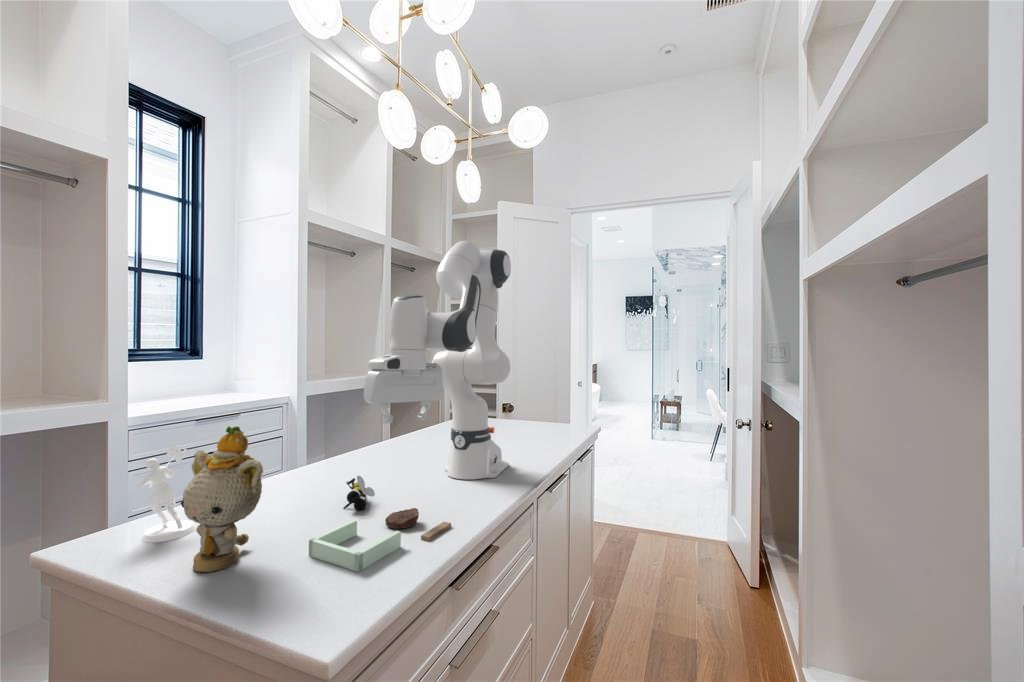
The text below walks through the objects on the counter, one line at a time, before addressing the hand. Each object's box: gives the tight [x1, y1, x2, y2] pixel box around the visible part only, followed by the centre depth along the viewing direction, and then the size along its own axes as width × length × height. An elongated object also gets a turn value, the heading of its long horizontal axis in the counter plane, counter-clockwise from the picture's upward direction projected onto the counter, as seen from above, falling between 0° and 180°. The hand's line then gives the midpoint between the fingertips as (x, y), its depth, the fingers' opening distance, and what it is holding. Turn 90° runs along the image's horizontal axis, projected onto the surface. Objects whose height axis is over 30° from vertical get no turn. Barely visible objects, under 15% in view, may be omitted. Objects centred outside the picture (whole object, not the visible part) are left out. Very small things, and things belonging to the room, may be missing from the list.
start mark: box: [420, 521, 452, 542], centre depth 94 cm, size 8×2×1 cm, turn 153°
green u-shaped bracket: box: [308, 519, 402, 573], centre depth 86 cm, size 11×13×3 cm
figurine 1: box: [137, 443, 197, 544], centre depth 94 cm, size 10×10×18 cm
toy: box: [342, 475, 375, 512], centre depth 111 cm, size 7×8×15 cm
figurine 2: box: [180, 426, 264, 573], centre depth 81 cm, size 11×18×25 cm, turn 61°
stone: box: [385, 507, 420, 530], centre depth 98 cm, size 7×7×3 cm
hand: (405, 421), depth 103 cm, fingers open, 8 cm apart
